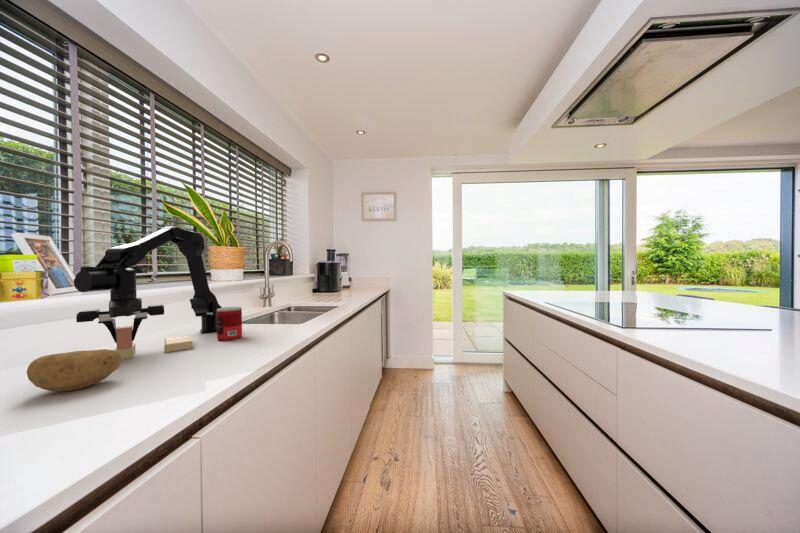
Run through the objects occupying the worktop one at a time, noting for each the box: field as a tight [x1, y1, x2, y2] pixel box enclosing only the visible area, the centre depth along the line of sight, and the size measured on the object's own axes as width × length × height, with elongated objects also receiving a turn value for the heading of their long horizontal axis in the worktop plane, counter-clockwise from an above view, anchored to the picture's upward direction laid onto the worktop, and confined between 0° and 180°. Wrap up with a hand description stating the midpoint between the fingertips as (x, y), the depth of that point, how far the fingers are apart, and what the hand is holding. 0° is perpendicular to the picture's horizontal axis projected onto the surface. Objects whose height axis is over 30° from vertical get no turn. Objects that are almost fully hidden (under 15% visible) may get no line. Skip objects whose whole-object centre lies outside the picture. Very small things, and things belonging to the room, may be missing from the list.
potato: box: [26, 348, 123, 392], centre depth 64 cm, size 10×14×8 cm
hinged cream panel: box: [163, 335, 194, 353], centre depth 96 cm, size 10×7×3 cm
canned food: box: [216, 306, 243, 342], centre depth 107 cm, size 8×8×11 cm
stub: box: [114, 325, 136, 360], centre depth 89 cm, size 10×4×8 cm, turn 38°
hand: (124, 341), depth 89 cm, fingers closed on stub, 3 cm apart
